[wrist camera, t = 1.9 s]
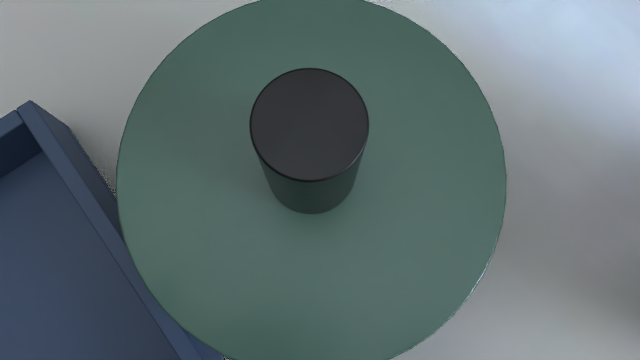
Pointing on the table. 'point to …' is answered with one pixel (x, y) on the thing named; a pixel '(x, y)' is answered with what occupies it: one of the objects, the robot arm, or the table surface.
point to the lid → (311, 182)
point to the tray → (70, 257)
